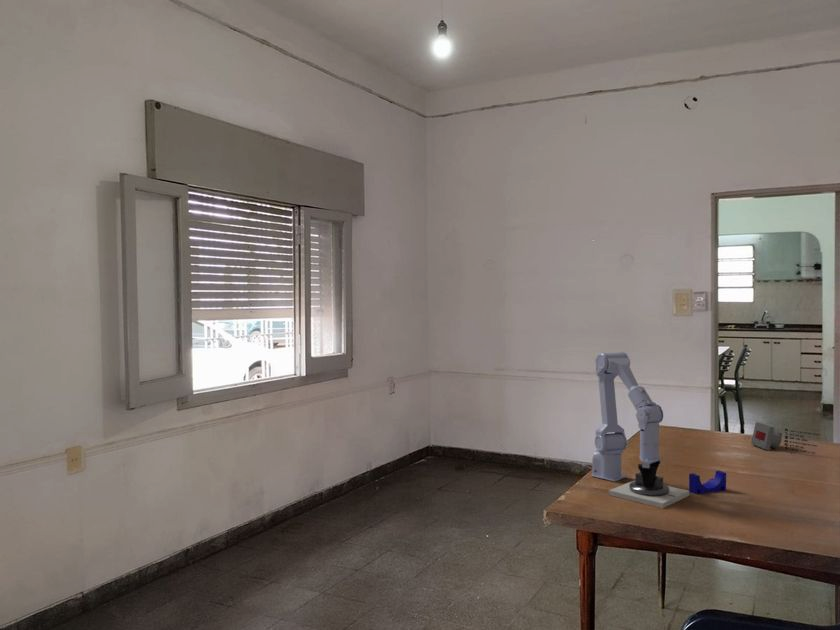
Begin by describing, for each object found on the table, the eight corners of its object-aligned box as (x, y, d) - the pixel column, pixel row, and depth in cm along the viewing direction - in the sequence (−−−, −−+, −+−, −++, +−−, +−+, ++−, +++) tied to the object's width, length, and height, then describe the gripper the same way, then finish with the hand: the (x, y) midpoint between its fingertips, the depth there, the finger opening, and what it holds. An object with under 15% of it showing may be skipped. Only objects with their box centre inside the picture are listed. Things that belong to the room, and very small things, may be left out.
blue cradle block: (715, 487, 215) (716, 469, 215) (726, 491, 211) (726, 472, 211) (685, 490, 212) (686, 472, 211) (695, 494, 207) (695, 476, 207)
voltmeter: (745, 447, 270) (745, 424, 269) (756, 443, 277) (757, 420, 277) (816, 459, 250) (816, 434, 249) (826, 454, 257) (827, 430, 257)
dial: (655, 497, 198) (655, 483, 198) (621, 488, 207) (621, 474, 207) (676, 490, 205) (676, 476, 205) (643, 482, 215) (643, 468, 214)
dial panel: (608, 494, 207) (608, 489, 207) (637, 483, 219) (637, 478, 219) (662, 508, 194) (662, 502, 193) (689, 495, 206) (689, 490, 206)
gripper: (659, 449, 197) (659, 493, 198) (665, 439, 210) (665, 481, 211) (635, 446, 201) (635, 490, 201) (643, 437, 214) (642, 478, 214)
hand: (649, 485), depth 206 cm, fingers closed on dial, 5 cm apart
